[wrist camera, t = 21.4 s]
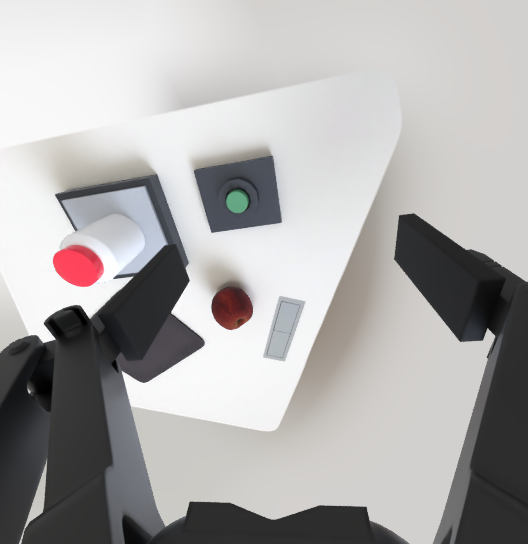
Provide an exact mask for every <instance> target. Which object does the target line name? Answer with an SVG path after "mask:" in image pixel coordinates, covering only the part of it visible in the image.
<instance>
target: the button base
mask: <svg viewBox="0 0 528 544" xmlns="http://www.w3.org/2000/svg"><path fill="white" fill-rule="evenodd" d="M194 173H195V177H196V180H197V184H198V187H199V191H200V194H201V198H202V201H203V205H204V208H205V212H206V215H207V219H208V222H209V226H210V229H211V232H212V233H213V232H220V231H227V230H234V229H241V228H248V227H255V226H262V225H269V224H276V223H281V222H282V220H281V212H280V205H279V198H278V190H277V183H276V176H275V169H274V161H273V156H269V157H263V158H258V159H252V160H247V161H241V162H235V163H230V164H224V165H219V166H213V167H207V168H202V169H196V170H195V171H194ZM236 189H240V190H242V191H244V192H245V193H246V194H247V196H248V198H249V203H248V206H247V208H246V209H245V211H243V212H241V213H234V212H232V211H231V210H229V208H228V207H227V204H226V199H227V197H228V195H229V194H230V192H231V191H233V190H236Z"/></svg>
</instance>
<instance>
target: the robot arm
mask: <svg viewBox="0 0 528 544" xmlns="http://www.w3.org/2000/svg"><path fill="white" fill-rule="evenodd" d="M394 260H395V261H396V262H397V263H398V265H399V266H400V267H401V268H402V270H403V271H404V272H405V273H406V275H407V276H408V277H409V278H410V279H411V281H412V282H413V283H414V285H415V286H416V287H417V288H418V290H419V291H420V292H421V293H422V295H423V296H424V297H425V298H426V300H427V301H428V302H429V303H430V305H431V306H432V307H433V308H434V310H435V311H436V312H437V313H438V315H439V316H440V317H441V318H442V320H443V321H444V322H445V323H446V325H447V326H448V327H449V328H450V330H451V331H452V332H453V333H454V335H455V336H456V337H457V338H458V340H459V341H460V342H466V341H482V340H483V339H484V336H485V333H486V331H487V328H488V329H489V330H490V331H491V332H492V333H493V334H494V335H495V339H494V341H493V344H492V346H491V348H490V351H489V353H488V356H487V358H488V361H487V365H486V368H485V371H484V375H483V378H482V382H481V385H480V389H479V392H478V396H477V399H476V403H475V406H474V409H473V413H472V416H471V420H470V423H469V427H468V430H467V434H466V437H465V441H464V444H463V448H462V451H461V455H460V458H459V462H458V465H457V468H456V472H455V476H454V479H453V482H452V486H451V489H450V493H449V496H448V500H447V503H446V506H445V510H444V513H443V517H442V520H441V523H440V526H439V529H438V531H437V534H436V537H435V540H434V542H433V544H528V282H526V281H524V280H522V279H521V278H520V277H518V276H517V275H515V274H513V273H512V272H511V271H509V270H508V269H506V268H504V267H502V266H501V265H500V264H498V263H497V262H494V260H492V259H491V258H489V257H488V256H486V255H485V254H482V253H480V252H477V251H474V250H465V249H464V248H462V247H461V246H460V245H458V244H457V243H455V242H454V241H452V240H451V239H450V238H448V237H447V236H445V235H444V234H442V233H441V232H440V231H438V230H437V229H435V228H434V227H433V226H431V225H430V224H428V223H427V222H425V221H424V220H423V219H421V218H420V217H418V216H417V215H416V214H407V215H400V216H399V222H398V231H397V241H396V249H395V258H394ZM189 281H190V280H189V277H188V275H187V272H186V269H185V267H184V264H183V261H182V258H181V256H180V253H179V250H178V248H177V245H176V244H171V245H164V247H163V248H162V249H161V250H160V251H159V252H158V253H157V254H156V255H155V256H154V257H153V258H152V259H151V260H150V261H149V262H148V263H147V264H146V265H145V266H144V267H143V268H142V269H141V270H140V271H139V272H138V273H137V274H136V275H135V276H134V277H133V278H132V279H131V280H130V281H129V282H128V283H127V284H126V285H125V287H124V288H122V289H121V290H119V291H118V292H117V293H116V294H115V295H114V296H113V297H112V298H111V299H110V300H109V301H108V302H107V303H106V304H105V305H104V306H103V307H102V308H101V309H100V310H99V311H98V312H97V313H96V314H95V315H94V316H93V317H92V318H91V319H89V318H88V316H87V315H86V313H85V312H84V310H83V309H82V307H81V306H79V305H74V306H69V307H66V308H63V309H61V310H59V311H57V312H55V313H54V314H52V315H51V316H50V317H48V318H47V319H46V320H45V322H44V325H45V326H46V327H47V329H48V330H49V331H50V332H51V334H52V335H53V336H54V337H55V339H56V340H53V341H49V342H46V343H43V342H42V341H41V340H40V339H39V337H38V336H37V335H31V336H28V337H24V338H22V339H18V340H16V341H15V342H13V343H11V344H10V345H9V346H8V347H6V348H5V349H4V350H3V351H2V352H1V353H0V544H19V541H20V539H21V536H22V533H23V530H24V527H25V524H26V521H27V518H28V515H29V512H30V509H31V506H32V503H33V499H34V497H35V494H36V491H37V487H38V485H39V482H40V479H41V476H42V473H43V470H44V466H45V464H46V461H47V473H46V487H45V501H44V510H43V513H42V514H40V515H39V516H38V517H36V518H35V519H33V520H32V521H31V522H30V523H29V524H28V526H27V527H26V529H25V531H24V535H23V539H22V543H21V544H409V543H408V542H406V541H405V540H404V539H402V538H401V537H399V536H398V535H397V534H395V533H394V532H392V531H391V530H389V529H387V528H385V527H383V526H381V525H379V524H377V523H374V522H372V521H369V516H368V512H367V507H354V506H317V507H314V508H311V509H307V510H304V511H302V512H298V513H296V514H292V515H289V516H286V517H283V518H280V519H276V520H271V519H268V518H265V517H263V516H260V515H258V514H256V513H253V512H251V511H248V510H246V509H243V508H241V507H238V506H236V505H234V504H231V503H219V502H190V503H189V507H188V511H187V515H186V516H185V517H183V518H180V519H178V520H176V521H175V522H173V523H171V524H169V525H168V526H166V527H165V525H164V523H163V521H162V519H161V517H160V515H159V513H158V510H157V507H156V504H155V500H154V496H153V492H152V489H151V485H150V481H149V477H148V473H147V469H146V465H145V461H144V457H143V453H142V449H141V446H140V442H139V438H138V434H137V430H136V426H135V422H134V418H133V414H132V411H131V406H130V403H129V399H128V395H127V391H126V387H125V383H124V379H123V375H122V371H121V367H120V364H119V362H118V361H117V359H116V358H117V357H118V355H119V354H120V352H121V353H122V354H123V356H124V358H125V359H126V361H137V360H143V358H144V356H145V355H146V353H147V351H148V350H149V348H150V346H151V345H152V343H153V341H154V340H155V338H156V336H157V335H158V333H159V331H160V329H161V328H162V326H163V324H164V323H165V321H166V319H167V318H168V316H169V314H170V313H171V311H172V309H173V308H174V306H175V304H176V303H177V301H178V299H179V298H180V296H181V294H182V293H183V291H184V289H185V288H186V286H187V284H188V283H189ZM27 388H28V389H29V390H30V391H31V393H30V394H29V393H28V390H27ZM47 458H48V459H47Z"/></svg>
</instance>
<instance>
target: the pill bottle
mask: <svg viewBox="0 0 528 544" xmlns="http://www.w3.org/2000/svg"><path fill="white" fill-rule="evenodd" d="M144 246H145V238H144V235H143V232H142V230H141V229H140V227H139V226H138V225H137V224H136V223H135V222H134V221H133V220H131V219H130V218H128V217H126V216H123V215H120V214H109V215H106V216H104V217H102V218H100V219H98V220H96V221H94V222H92V223H90V224H89V225H87V226H85V227H83V228H81V229H79V230H77V231H75V232H73V233H71V234H69V235H67V236H66V237H65V238H64V239H63V240H62V241H61V243H60V247H59V251H58V252H57V253H56V254H55V255H54V258H53V264H54V267H55V270H56V271H57V273H58V274H59V275H60V276H61V277H62V278H63V279H64V280H66V281H67V282H69V283H71V284H73V285H76V286H80V287H87V286H90V285H92V284H94V283H105V282H108V281H110V280H111V279H113V278H114V277H115V276H116V275H117V274H118V273H119V272H121V271H122V270H123V269H124V268H125V267H126V266H127V265H128V264H129V263H130V262H132V261H133V260H134V259H135V258H136V257H137V256H138V255H139V254H140V253H141V252H142V251H143V249H144Z"/></svg>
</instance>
